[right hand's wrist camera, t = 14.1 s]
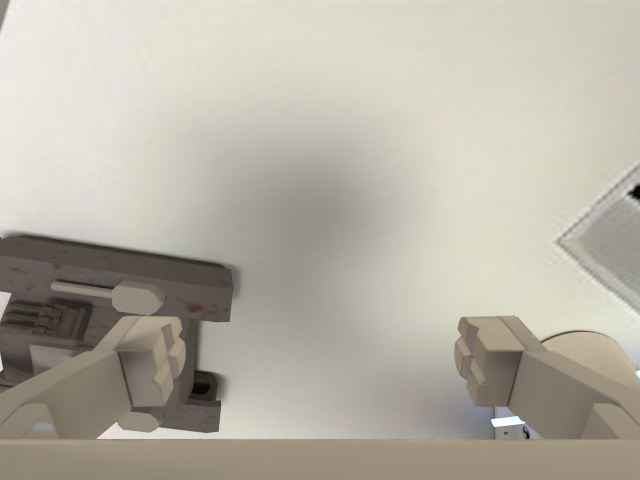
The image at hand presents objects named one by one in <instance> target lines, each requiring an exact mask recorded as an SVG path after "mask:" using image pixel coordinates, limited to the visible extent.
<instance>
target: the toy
mask: <svg viewBox="0 0 640 480" xmlns="http://www.w3.org/2000/svg"><path fill="white" fill-rule="evenodd" d="M0 291H1V292H8V293H12V294H11V297H10V299H9V302H8V304H7V306H6V309H5V311H4V314H3V316H2V319H1V321H0V354H1V360H2V365H3V370H2V371H1V372H0V393H2V392H4V391H6V390H8V389H10V388H12V387H14V386H16V385H18V384H20V383H22V382H24V381H26V380H28V379H30V378H32V377H34V376H36V375H39V374H41V373H43V372H45V371H47V370H49V369H51V368H53V367H55V366H57V365H59V364H61V363H63V362H65V361H67V360H69V359H71V358H73V357H75V356H77V355H79V354H81V353H83V352H85V351H92V350H93V349H94V348H95V347H96V346H97V345H98V344H99V342H100V341H101V340H102V339H103V338H104V337H105V336H106V335H107V334H108V332H109V331H110V330H111V329H112V328H113V327H114V326H115V325H116V324H117V322H118V321H119V320H120V319H121V318H122V317H125V316H171V317H178V318H179V319H180V321H181V326H182V331H181V332H180V334H179V337H180V338H181V339H182V340H183V341H184V342H185V349H186V358H185V362H184V367H183V369H182V372H181V374H180V375H179V376H178V377H177V378H175V379H174V380H173V386H174V388H173V390H172V392H171V394H170V396H169V398H168V400H167V402H166V404H165V406H152V407H132V409H131V410H130V411H129V412H128V413H126V414H125V415H124V416H123V417H122V418H120V419H119V420H118V421H117V422H118V425H119V426H120V427H121V428H122V429H124V430H132V431H141V432H149V433H150V432H152V431H154V430H156V429H157V428H158V427H162V428H170V429H178V430H186V431H195V432H203V433H211V432H218V431H219V421H220V412H221V400H219V401H216V393H217V380H216V378H215V377H214V376H213V375H210V374H203V373H195V372H194V365H195V347H196V329H197V320H205V321H212V322H230V312H231V302H232V292H233V284H232V277H231V270H229V269H226V268H225V267H223V266H222V265H218V264H212V263H205V262H199V261H192V260H185V259H179V258H172V257H165V256H159V255H152V254H145V253H139V252H132V251H125V250H119V249H112V248H105V247H99V246H92V245H85V244H79V243H72V242H65V241H59V240H52V239H45V238H39V237H32V236H21V237H7V238H3V239H1V237H0Z"/></svg>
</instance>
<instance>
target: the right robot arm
mask: <svg viewBox="0 0 640 480" xmlns="http://www.w3.org/2000/svg"><path fill="white" fill-rule="evenodd" d="M181 331H182V326H181V321H180V319H179V318H178V317H171V316H125V317H122V318H121V319H120V320H119V321H118V322H117V324H116V325H115V326H114V327H113V328H112V329H111V330H110V331H109V332H108V334H107V335H106V336H105V337H104V338H103V339H102V340H101V341H100V342H99V344H98V345H97V346H96V347H95V348H94V349H93V350H92V351H85V352H83V353H81V354H79V355H77V356H75V357H73V358H71V359H69V360H67V361H65V362H63V363H61V364H59V365H57V366H55V367H53V368H51V369H49V370H47V371H45V372H43V373H41V374H39V375H36V376H34V377H32V378H30V379H28V380H26V381H24V382H22V383H20V384H18V385H16V386H14V387H12V388H10V389H8V390H6V391H4V392H2V393H0V480H640V371H639V370H638V369H637V368H636V367H634V365H633V364H632V363H631V361H630V360H629V359H628V357H627V356H626V355H625V353H624V352H623V350H622V348H621V347H620V346H619V345H618V344H617V343H616V342H615V341H614V340H612V339H611V338H609V337H607V336H604V335H601V334H598V333H592V332H573V333H568V334H563V335H560V336H556V337H554V338H551V339H549V340H547V341H545V342H543V343H541V342H540V341H539V340H538V339H537V338H536V337H535V336H534V335H533V334H532V332H531V331H530V330H529V329H528V328H527V327H526V326H525V325H524V323H523V322H522V321H521V320H520V319H519V318H518V317H516V316H496V317H461V319H460V321H459V325H458V331H459V332H460V334H461V337H460V338H459V339H458V340H457V341H456V342H455V350H454V355H455V363H456V367H457V369H458V372H459V374H460V375H461V376H462V377H463V378H465V379H466V380H467V386H466V388H467V390H468V392H469V394H470V396H471V398H472V400H473V402H474V404H475V405H476V406H487V407H495V419H492V423H493V425H494V427H495V439H96V438H97V437H99V436H100V435H101V434H102V433H103V432H105V431H106V430H107V429H108V428H109V427H111V426H112V425H113V424H114V423H115V422H117V421H118V420H119V419H120V418H122V417H123V416H124V415H125V414H126V413H128V412H129V411H130V410H131V409H132V407H152V406H165V404H166V402H167V400H168V398H169V396H170V394H171V392H172V390H173V388H174V386H173V380H174V379H175V378H177V377H178V376H179V375H180V374H181V372H182V369H183V367H184V362H185V358H186V349H185V342H184V341H183V340H182V339H181V338H180V337H179V334H180V332H181Z"/></svg>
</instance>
